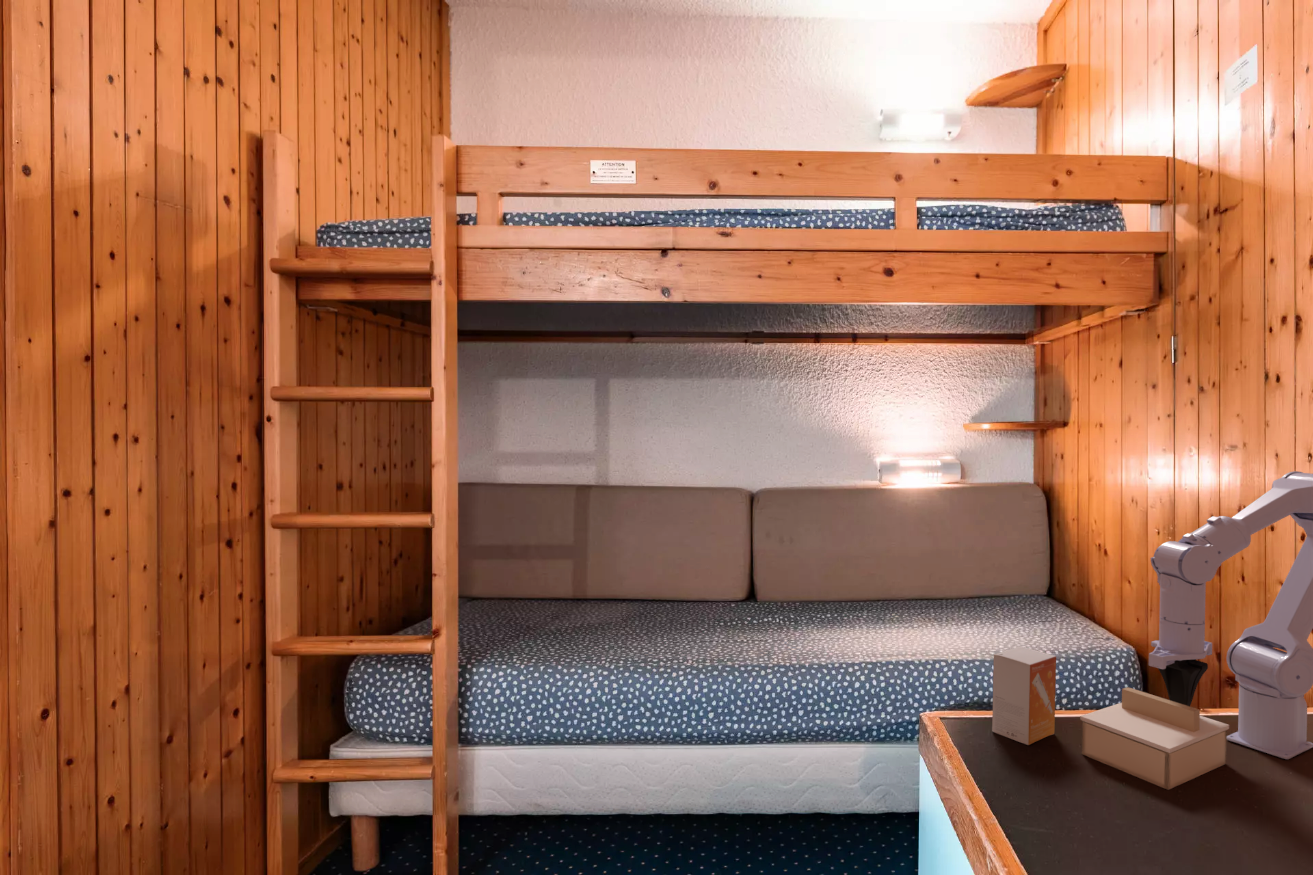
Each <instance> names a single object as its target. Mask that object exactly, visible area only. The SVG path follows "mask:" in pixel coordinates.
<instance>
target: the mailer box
mask: <svg viewBox="0 0 1313 875" xmlns="http://www.w3.org/2000/svg"><path fill="white" fill-rule="evenodd" d="M1081 729H1082V730H1081V731H1082V732H1081V734H1082V736H1081V755H1082V756H1085V757H1088V758H1090V759H1092V760H1095V761H1096V762H1097V761H1098V762H1100V763H1102V764H1104V765H1107V766H1109V767H1112V768H1114V769H1116V770H1119V771H1121V772H1124V773H1125V774H1128V775H1131V776H1133V777H1137V779H1138V778H1139V779H1140V780H1143V781H1146V782H1148V783H1150V784H1153V785H1155V786H1158V787H1160V788H1163V789H1166V790H1168V791H1169V790H1172V789H1173V788H1175V787H1177V786H1180V785H1182V784H1184V783H1186V782H1188V781H1191V780H1194V779H1195V778H1198V777H1200V776H1201V775H1204V774H1206V773H1208V772H1210V771H1213V770H1215V769H1217V768H1220V767H1222V766H1224V765H1226V764H1227V741H1228V740H1227V736H1228V734H1227V732H1228V731H1227V730H1225V731H1223V732H1220V733H1218V734H1215V735H1213V736H1210V737H1208V738H1205V739H1203V740H1201V741H1198V742H1196V743H1193V744H1191V745H1188V746H1186V747H1183V748H1181V749H1179V750H1176V751H1174V752H1171V753H1168V752H1165V751H1163V750H1160V749H1157V748H1155V747H1152V746H1149V745H1147V744H1144V743H1141V742H1138V741H1136V740H1133V739H1130V738H1128V737H1125V736H1122V735H1120V734H1117V733H1114V732H1112V731H1109V730H1106V729H1104V728H1101V727H1098V726H1095V725H1093V724H1090V723H1087V722H1085V721H1082V726H1081Z"/></svg>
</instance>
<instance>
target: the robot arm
mask: <svg viewBox="0 0 1313 875" xmlns="http://www.w3.org/2000/svg"><path fill="white" fill-rule="evenodd" d="M1289 516H1291V518H1292V520H1294V522H1295V523H1296V524H1297V525H1298V526H1299V527H1301V528H1302V529H1303V530H1304V533H1305V534H1306V537H1305V540H1304V541H1303V543H1302V545H1301V547H1300V549H1299V552H1298V553H1297V555H1296V558H1295V560H1294V561H1293V563H1292V565H1291V567H1290V569H1289V572H1288V574H1287V575H1286V578H1285V580H1284V581H1283V584H1282V585H1281V587H1280V590H1279V592H1277V595H1276V597H1275V600H1274V601H1273V603H1272V605H1271V607H1270V609H1269V611H1268V613H1267V616H1266V617H1265V620H1264V621H1263V622H1261V623H1258V624H1255V625H1252V626H1250V627H1247V628H1245V629H1244V630H1243V632H1242V634H1241V635H1240V637H1239V638H1238V639H1237V640H1235V641H1234V642H1233V643H1232V644H1230V646H1229V648H1228V650H1227V651H1226V664H1227V666H1228V669H1229V670H1230V672H1232V673H1233V674H1234V675H1235V681H1236V682H1238V683H1239V684H1238V714H1237V715H1238V720H1237V728H1238V730H1237V731H1236V732H1233V733H1230V734H1229V735H1228V734H1227V741H1230V742H1233V743H1236V744H1239V745H1242V746H1244V747H1248V748H1251V749H1254V750H1257V751H1259V752H1262V753H1265V754H1266V753H1267V754H1268V755H1272V756H1275V757H1278V758H1280V759H1282V760H1283V759H1285V760H1289V759H1292V758H1293V757H1296V756H1297V755H1300V754H1302V753H1304V752H1306V751H1308V750H1310V749H1312V748H1313V743H1312V742H1311V741H1307V738H1308V737H1307V732H1308V731H1307V730H1308V727H1307V726H1308V704H1307V702H1306V699H1305V697H1304V696H1305V694H1307V693H1308V692H1309V691H1310V690H1311V689H1312V687H1313V646H1312V645H1311V644H1310V642H1309V641H1308V639H1309V637H1310V635H1311V633H1312V630H1313V473H1310V472H1302V471H1295V470H1294V471H1289V472H1286V473H1285V474H1283V476H1281V477H1280V478H1277V479H1275V480H1273V481H1272V484H1271V488H1270V490H1267V491H1266V492H1265V493H1264V494H1262V495H1261V496H1260V497H1258V498H1257V499H1255V500H1254V501H1252V502H1251V503H1250V504H1248V505H1247V506H1246V507H1244V508H1243V509H1241V510H1240V511H1238V512H1237V513H1236V514H1234V515H1233V516H1232V517H1230V516H1225V515H1219V516H1213V515H1212V516H1211V517H1209V518H1208V519H1206V523H1205V524H1203V525H1202V526H1200V527H1199V528H1197V529H1195V530H1194V531H1192V532H1189V533H1188V532H1187V533H1186V534H1183V535H1182V538H1181V539H1179V540H1178V541H1175V540H1173V541H1172V540H1169V541H1166V542H1163V543H1162V544H1160V546H1158V547H1157V548H1156V550H1155V551H1154V554H1153V556H1152V557H1150V564H1151V566H1152V568H1153V570H1154V572H1155V573H1156V576H1157V583H1158V585H1159V626H1158V628H1159V629H1158V630H1159V631H1158V640H1153V641H1150V646H1151V647H1154V650H1153V651H1152V652H1149V653H1148V666H1150V667H1152V668H1157V669H1158V671H1159V672H1160V675H1161V676H1162V679H1163V681H1164V684H1165V687H1166V691H1167V692H1166V693H1167V695H1168V700H1170V701H1174V702H1177V703H1180V704H1183V705H1186V706H1190V707H1191V706H1192V705H1191V704H1192V701H1193V699H1194V696H1195V692H1196V690H1197V687H1198V684H1199V682H1200V681H1201V679H1202V677H1203V675H1204V674H1205V672H1207V670H1208V668H1209V664H1208V663H1207V662H1204V661H1201V660H1202V659H1205V658H1206V657H1207V656H1211V655H1213V642H1212V641H1211V642H1210V641H1206V640H1205V639H1206V638H1205V637H1206V590H1207V584H1206V583H1207V582H1211V581H1212V580H1213V579H1214V578H1215V575H1216V574H1217V571H1218V569H1219V567H1220V566H1222V564H1223V562H1225V561H1227V560H1228V559H1231V558H1232V557H1234V556H1235V555H1237V554H1238V553H1240V552H1242V551H1243V550H1245V549H1247V548H1248V547H1250V545H1251V541H1252V537H1251V536H1252V535H1254V534H1255V533H1258V532H1260V531H1261V530H1264V529H1265V528H1267V527H1269V526H1271V525H1273V524H1275V523H1277V522H1278V521H1279V522H1280V520H1281V521H1282V520H1283V519H1285V518H1286V517H1289Z"/></svg>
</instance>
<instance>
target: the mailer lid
mask: <svg viewBox="0 0 1313 875" xmlns="http://www.w3.org/2000/svg"><path fill="white" fill-rule="evenodd" d="M1200 711H1201V709H1198V708H1196V707H1192V706H1191V705H1190V706H1186V705H1183V704H1180V703H1177V702H1174V701H1170V700H1169V699H1167V698H1164V697H1161V696H1157V695H1153V694H1150V693H1148V692H1146V691H1141V690H1138V689H1135V688H1131V687H1130V686H1129V687H1124V688H1122V689H1121V702H1119V703H1116V704H1113V705H1110V706H1107V707H1106V706H1105V707H1104V708H1101V709H1098V710H1095V711H1092V712H1089V713H1085V714H1082V715H1080V716H1079V717H1080V721H1082V722H1084V721H1085V722H1087V723H1090V724H1093V725H1095V726H1098V727H1101V728H1104V729H1106V730H1109V731H1112V732H1114V733H1117V734H1120V735H1122V736H1125V737H1128V738H1130V739H1133V740H1136V741H1138V742H1141V743H1144V744H1147V745H1149V746H1152V747H1155V748H1157V749H1160V750H1163V751H1165V752H1168V753H1171V752H1174V751H1176V750H1179V749H1181V748H1183V747H1186V746H1188V745H1191V744H1193V743H1196V742H1198V741H1201V740H1203V739H1205V738H1208V737H1210V736H1213V735H1215V734H1218V733H1220V732H1223V731H1225V730H1226V731H1227V730H1229V729H1230V724H1227V723H1225V722H1221V721H1218V720H1215V719H1212V718H1209V717H1205V716H1202V715H1200V714H1201V712H1200Z"/></svg>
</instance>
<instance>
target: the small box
mask: <svg viewBox="0 0 1313 875" xmlns="http://www.w3.org/2000/svg"><path fill="white" fill-rule="evenodd" d="M992 664H993V666H992V668H993V670H992V671H993V672H992V673H993V674H992V679H993V680H992V682H993V683H992V718H991V719H992V720H991V721H992V723H991V724H992V726H991V731H992V732H993V733H995V734H997V735H1000V736H1002V737H1005V738H1008V739H1011V740H1014V741H1016V742H1019V743H1021V744H1023V745H1027V746H1030V745H1032V744H1034V743H1035V742H1038V741H1040V740H1042V739H1044V738H1046V737H1049V736H1052V735H1054V734H1055V728H1056V727H1055V726H1056V725H1055V722H1056V721H1055V720H1056V719H1055V717H1056V688H1057V686H1056V682H1057V681H1056V680H1057V677H1056V675H1057V655H1053V654H1051V653H1046V652H1043V651H1040V650H1037V649H1034V648H1033V649H1032V648H1029V647H1025V646H1023V645H1020V646H1016V647H1013V648H1008V649H1006V650H1005V649H1004V650H1003V651H1001V652H1000V651H999V652H998V653H994V654H993V663H992Z"/></svg>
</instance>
